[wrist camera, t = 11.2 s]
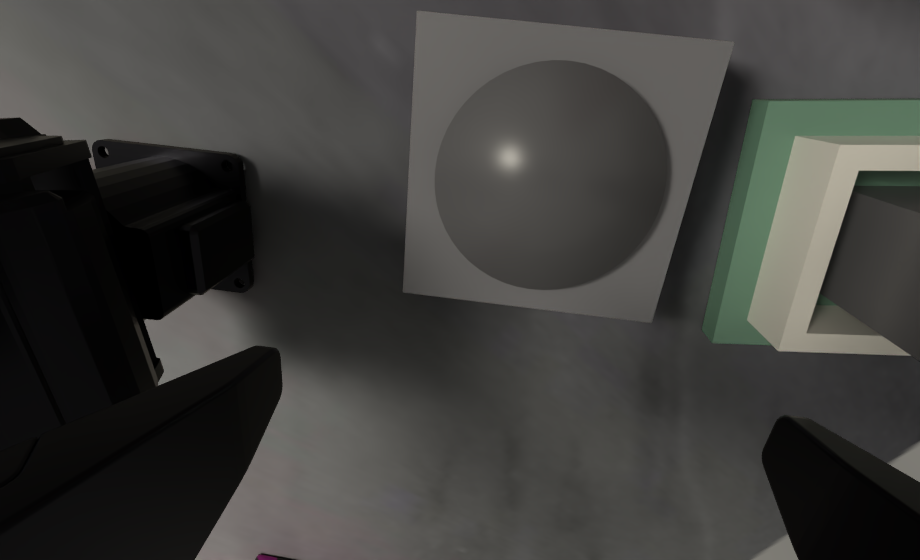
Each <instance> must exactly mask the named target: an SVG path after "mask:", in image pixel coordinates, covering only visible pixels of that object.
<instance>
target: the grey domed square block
mask: <svg viewBox="0 0 920 560" xmlns="http://www.w3.org/2000/svg"><path fill="white" fill-rule="evenodd" d="M734 43H735V42H729V41H719V40H709V39H699V38H689V37H679V36H669V35H659V34H648V33H638V32H628V31H618V30H608V29H598V28H588V27H577V26H567V25H557V24H547V23H537V22H527V21H517V20H506V19H496V18H486V17H476V16H466V15H456V14H446V13H436V12H425V11H417V18H416V38H415V58H414V78H413V98H412V118H411V137H410V157H409V177H408V197H407V217H406V237H405V256H404V276H403V292H404V293H412V294H420V295H428V296H436V297H444V298H452V299H460V300H468V301H477V302H485V303H493V304H501V305H509V306H517V307H525V308H533V309H541V310H549V311H558V312H566V313H574V314H582V315H590V316H598V317H606V318H614V319H622V320H630V321H638V322H647V323H652V320H653V317H654V313H655V310H656V306H657V303H658V300H659V296H660V293H661V289H662V286H663V283H664V279H665V276H666V273H667V269H668V266H669V262H670V259H671V256H672V252H673V249H674V246H675V242H676V239H677V235H678V232H679V229H680V225H681V222H682V219H683V215H684V212H685V208H686V205H687V202H688V198H689V195H690V191H691V188H692V185H693V181H694V178H695V175H696V171H697V168H698V164H699V161H700V158H701V154H702V151H703V148H704V144H705V141H706V137H707V134H708V131H709V127H710V124H711V120H712V117H713V114H714V110H715V107H716V104H717V100H718V97H719V93H720V90H721V87H722V83H723V80H724V77H725V73H726V70H727V66H728V63H729V60H730V56H731V53H732V50H733V46H734Z"/></svg>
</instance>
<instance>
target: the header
mask: <svg viewBox="0 0 920 560" xmlns="http://www.w3.org/2000/svg"><path fill="white" fill-rule="evenodd" d="M854 185H855V186H920V98H908V99H753V100H752V105H751V109H750V114H749V118H748V123H747V127H746V132H745V136H744V141H743V145H742V150H741V154H740V159H739V163H738V168H737V172H736V177H735V182H734V186H733V191H732V195H731V200H730V204H729V209H728V213H727V218H726V222H725V227H724V231H723V236H722V240H721V245H720V249H719V254H718V258H717V263H716V267H715V272H714V276H713V281H712V285H711V290H710V294H709V299H708V304H707V308H706V313H705V317H704V322H703V326H702V331H703V332H704V333H705V335H706V336H707V337H708V339H709V340H710V341H711V342H712V343H720V344H749V345H772V346H773V347H774V348H775V349H776V350H777V351H789V352H817V353H845V354H873V355H901V356H911V355H909V354H908V353H906V352H905V351H904V350H902V349H901V348H899V347H898V346H896V345H895V344H893V343H892V342H890V341H889V340H887V339H886V338H885V337H883V336H882V335H880V334H879V333H877V332H876V331H874V330H873V329H871V328H870V327H868V326H867V325H865V324H864V323H863V322H861V321H860V320H858V319H857V318H855V317H854V316H852V315H851V314H849V313H848V312H846V311H845V310H843V309H842V308H841V307H839V306H838V305H836V304H835V303H833V302H832V301H830V300H829V299H827V298H826V297H824V296H823V295H822V294H820V293H819V292H820V289H821V286H822V283H823V280H824V277H825V274H826V271H827V268H828V265H829V261H830V258H831V255H832V252H833V249H834V246H835V243H836V240H837V237H838V234H839V231H840V227H841V224H842V221H843V218H844V215H845V212H846V209H847V206H848V203H849V200H850V196H851V193H852V190H853V187H854Z"/></svg>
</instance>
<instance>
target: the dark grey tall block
mask: <svg viewBox="0 0 920 560" xmlns="http://www.w3.org/2000/svg"><path fill="white" fill-rule="evenodd" d="M819 293H820V294H822V295H823V296H824V297H826V298H827V299H829V300H830V301H832V302H833V303H835V304H836V305H838V306H839V307H841V308H842V309H843V310H845V311H846V312H848V313H849V314H851V315H852V316H854V317H855V318H857V319H858V320H860V321H861V322H863V323H864V324H865V325H867V326H868V327H870V328H871V329H873V330H874V331H876V332H877V333H879V334H880V335H882V336H883V337H885V338H886V339H887V340H889V341H890V342H892V343H893V344H895V345H896V346H898V347H899V348H901V349H902V350H904V351H905V352H906V353H908V354H909V355H911V356H912V357H914V358H915V359H917V360H918V361H920V186H855V185H854V187H853V190H852V193H851V196H850V200H849V203H848V206H847V209H846V212H845V215H844V218H843V221H842V224H841V227H840V231H839V234H838V237H837V240H836V243H835V246H834V249H833V252H832V255H831V258H830V261H829V265H828V268H827V271H826V274H825V277H824V280H823V283H822V286H821V289H820V292H819Z"/></svg>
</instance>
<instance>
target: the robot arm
mask: <svg viewBox="0 0 920 560" xmlns="http://www.w3.org/2000/svg"><path fill="white" fill-rule="evenodd" d="M105 147H106V148H107V149H108V151H109V155H108V154H106V152H105ZM92 152H93V157H94V161H95V166H96V169H93V170H92V168H91V165H90V162H89V159H88V158H91V157H92V156H91V153H90V150H89V147H88V144H87V141H86V140H65V141H63V138H62V136H46V134H40V133H39V132H38V131H37V130H35V129H34V128H33V127H31V126H30V125H29V124H28V123H26V122H25V121H24V120H22V119H21V118H0V560H195V558H196V557H197V555H198V553H199V552H200V550H201V548H202V546H203V545H204V543H205V541H206V540H207V538H208V536H209V535H210V533H211V531H212V530H213V528H214V526H215V524H216V523H217V521H218V519H219V518H220V516H221V514H222V513H223V511H224V509H225V508H226V506H227V504H228V502H229V501H230V499H231V497H232V496H233V494H234V492H235V491H236V489H237V487H238V486H239V484H240V482H241V480H242V479H243V477H244V475H245V473H246V471H247V469H248V467H249V465H250V463H251V461H252V459H253V457H254V455H255V452H256V450H257V448H258V446H259V444H260V441H261V439H262V437H263V435H264V433H265V430H266V428H267V426H268V424H269V421H270V419H271V417H272V415H273V413H274V410H275V408H276V406H277V404H278V402H279V399H280V397H281V393H282V371H281V357H280V353H279V351H278V350H277V349H276V348H272V347H264V346H253V347H251V348H248V349H246V350H244V351H241V352H239V353H236V354H234V355H231V356H229V357H227V358H224V359H222V360H219V361H217V362H215V363H212V364H210V365H207V366H205V367H202V368H200V369H198V370H195V371H193V372H190V373H188V374H186V375H183V376H181V377H178V378H176V379H174V380H171V381H169V382H166V383H164V384H161V385H159V386H158V382H159V380H160V378H161V376H162V374H163V372H164V369H163V366H162V363H161V360H160V358H156V355H155V352H154V349H153V346H152V343H151V341H150V338H149V335H148V332H147V329H146V326H145V323H144V320H146V319H153V320H161V319H162V318H164V317H165V316H166V315H168V314H169V313H171V312H172V311H174V310H175V309H176V308H178V307H179V306H181V305H182V304H183V303H185V302H186V301H188V300H189V299H191V298H192V297H193V296H195V295H203V294H204V293H206V292H207V291H209V290H210V289H215V290H223V291H231V292H239V293H243V292H246V291H248V290H249V289H250V288H251V287H252V286H253V283H254V279H253V268H252V258H253V257H254V245H253V233H252V222H251V210H250V206H249V204H248V203H247V202H246V191H245V179H244V168H243V163H242V161H241V159H240V158H239V157H238V156H237V155H236V154H233V153H227V152H218V151H210V150H201V149H192V148H183V147H174V146H165V145H156V144H148V143H139V142H130V141H121V140H112V139H104V140H97V141H96V142H94V143H93V146H92ZM227 160H228V161H230V162H231V163H232V165H233V170H230V169H229V168H228V167H227V165H226V163H227ZM238 278H240V279H242V280H243V281H244V283H245V285H243V284H241V283H240V282H239V280H238ZM762 463H763V467H764V469H765V472H766V475H767V478H768V480H769V483H770V486H771V489H772V491H773V494H774V497H775V499H776V502H777V505H778V508H779V510H780V513H781V516H782V519H783V521H784V524H785V527H786V530H787V532H788V535H789V538H790V540H791V543H792V545H793V548H794V550H795V552H796V555H797V557H798V559H799V560H920V482H918V481H916V480H915V479H913V478H911V477H910V476H908V475H906V474H904V473H903V472H901V471H899V470H897V469H896V468H894V467H892V466H891V465H889V464H887V463H885V462H884V461H882V460H880V459H878V458H877V457H875V456H873V455H871V454H870V453H868V452H866V451H864V450H863V449H861V448H859V447H858V446H856V445H854V444H852V443H851V442H849V441H847V440H845V439H844V438H842V437H840V436H838V435H837V434H835V433H833V432H832V431H830V430H828V429H826V428H825V427H823V426H821V425H819V424H818V423H816V422H814V421H812V420H810V419H808V418H804V417H796V416H789V415H784V416H781V417H779V418H778V419H777V421H776V422H775V425H774V427H773V429H772V431H771V433H770V435H769V438H768V440H767V442H766V444H765V446H764V448H763V452H762Z"/></svg>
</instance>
